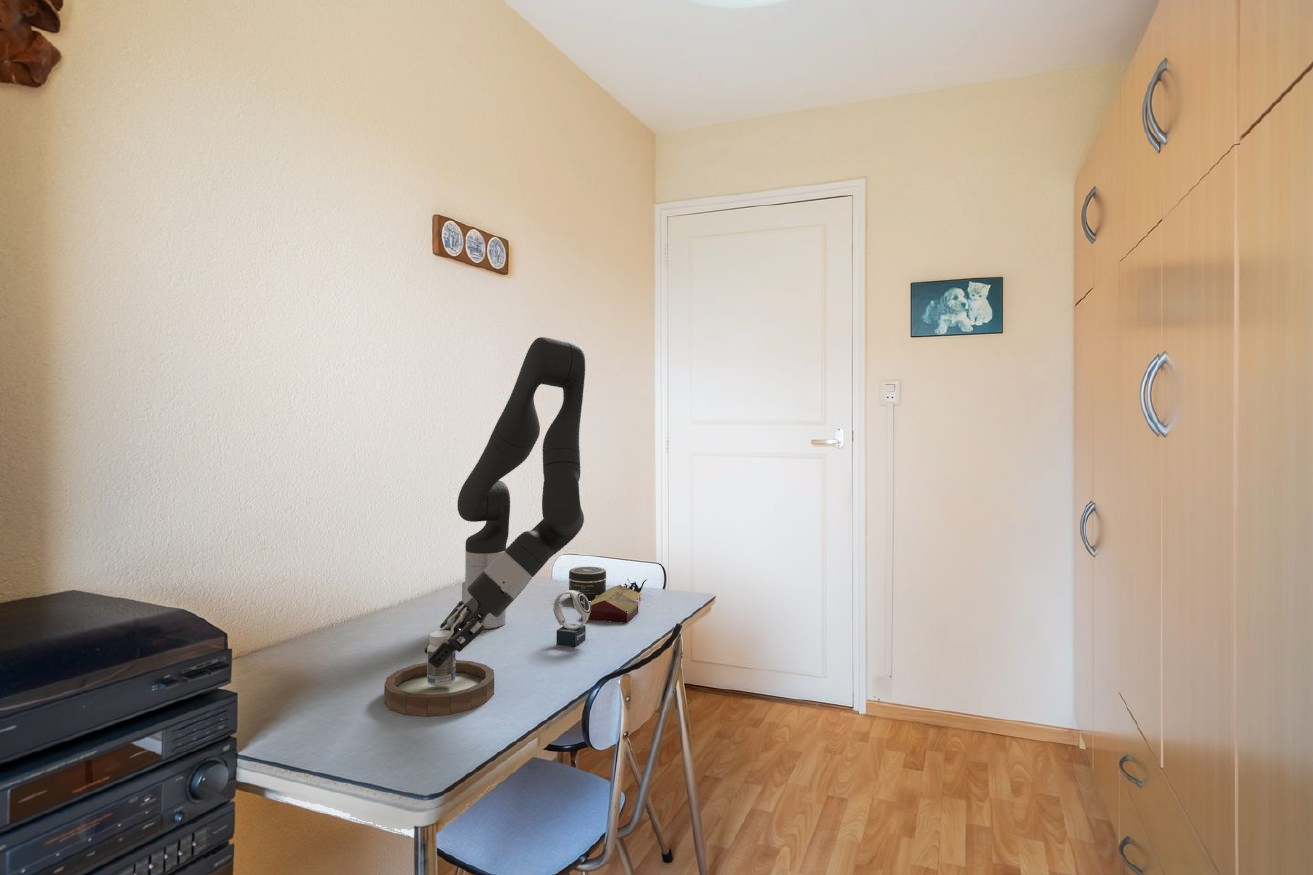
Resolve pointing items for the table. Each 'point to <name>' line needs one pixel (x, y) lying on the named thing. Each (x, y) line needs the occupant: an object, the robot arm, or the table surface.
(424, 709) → the ring tray
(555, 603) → the watch
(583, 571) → the jar
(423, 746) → the table surface
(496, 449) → the robot arm
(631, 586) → the creature
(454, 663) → the pill bottle
